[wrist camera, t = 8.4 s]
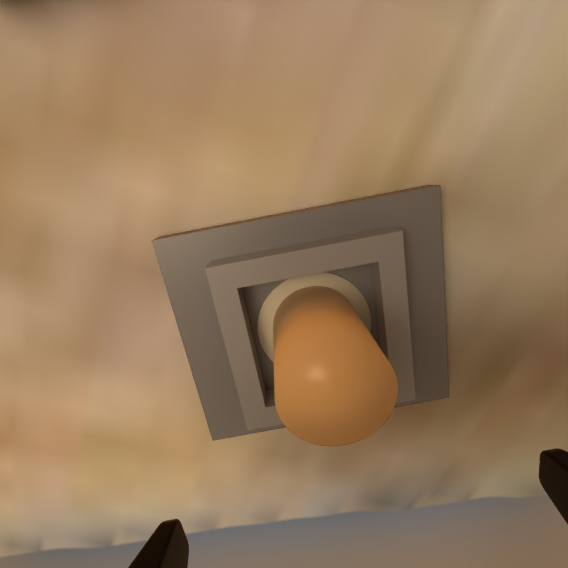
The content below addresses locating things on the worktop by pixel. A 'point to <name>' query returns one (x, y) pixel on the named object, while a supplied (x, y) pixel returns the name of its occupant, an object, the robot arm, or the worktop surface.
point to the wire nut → (329, 370)
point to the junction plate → (299, 274)
